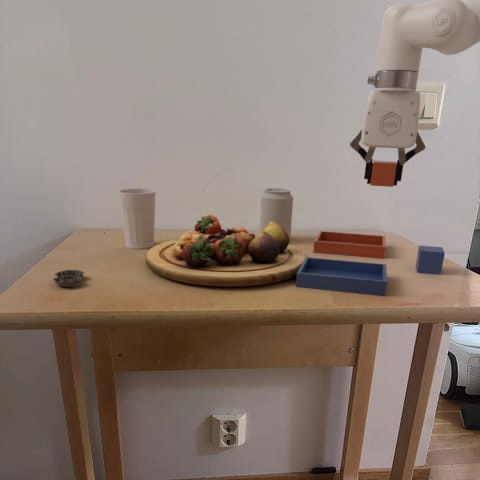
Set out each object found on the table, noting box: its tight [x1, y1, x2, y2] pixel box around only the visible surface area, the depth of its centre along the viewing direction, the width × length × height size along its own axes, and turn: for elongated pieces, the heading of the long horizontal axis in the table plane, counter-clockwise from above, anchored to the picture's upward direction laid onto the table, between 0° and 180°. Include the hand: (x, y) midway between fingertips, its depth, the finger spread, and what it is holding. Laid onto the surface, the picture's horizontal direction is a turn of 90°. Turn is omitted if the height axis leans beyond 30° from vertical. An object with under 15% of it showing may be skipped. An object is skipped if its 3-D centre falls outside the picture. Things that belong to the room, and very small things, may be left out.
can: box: [259, 187, 294, 239], centre depth 116 cm, size 8×8×12 cm
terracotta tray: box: [312, 230, 387, 259], centre depth 111 cm, size 15×11×2 cm
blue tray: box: [295, 256, 388, 297], centre depth 88 cm, size 15×11×2 cm
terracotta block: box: [369, 160, 397, 188], centre depth 97 cm, size 4×4×4 cm
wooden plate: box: [144, 214, 306, 287], centre depth 96 cm, size 32×32×8 cm
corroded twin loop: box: [52, 269, 85, 288], centre depth 85 cm, size 5×8×1 cm, turn 12°
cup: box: [117, 188, 156, 250], centre depth 108 cm, size 8×8×12 cm
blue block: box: [415, 245, 446, 275], centre depth 96 cm, size 4×4×4 cm
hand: (381, 183), depth 98 cm, fingers closed on terracotta block, 4 cm apart
